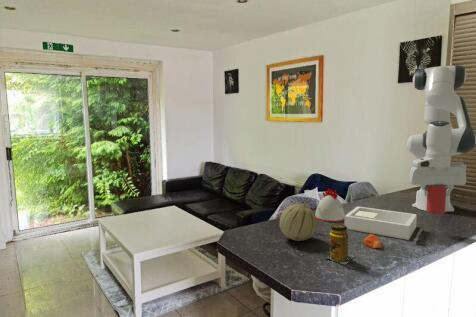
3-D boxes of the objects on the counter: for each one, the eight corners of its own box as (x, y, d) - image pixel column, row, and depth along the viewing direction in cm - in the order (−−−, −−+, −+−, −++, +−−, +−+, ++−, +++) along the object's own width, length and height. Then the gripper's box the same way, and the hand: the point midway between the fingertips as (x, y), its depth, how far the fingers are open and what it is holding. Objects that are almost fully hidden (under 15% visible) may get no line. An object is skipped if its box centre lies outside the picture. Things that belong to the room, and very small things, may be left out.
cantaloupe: (273, 236, 137) (272, 201, 135) (302, 231, 142) (302, 197, 141) (292, 249, 123) (292, 210, 121) (324, 242, 129) (324, 205, 127)
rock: (376, 256, 116) (376, 245, 116) (349, 245, 127) (349, 235, 126) (397, 249, 122) (397, 238, 122) (369, 239, 133) (369, 229, 132)
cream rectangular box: (359, 221, 150) (359, 210, 150) (377, 224, 146) (378, 213, 145) (353, 226, 144) (354, 215, 143) (372, 229, 139) (373, 218, 139)
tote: (357, 219, 156) (357, 206, 155) (416, 229, 141) (416, 214, 140) (344, 230, 142) (344, 216, 141) (408, 242, 127) (409, 226, 126)
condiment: (325, 259, 114) (325, 226, 112) (335, 251, 120) (335, 220, 119) (345, 265, 109) (345, 230, 108) (355, 256, 115) (355, 223, 114)
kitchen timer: (334, 226, 148) (334, 193, 146) (309, 219, 158) (309, 189, 156) (350, 219, 157) (351, 188, 155) (326, 213, 167) (326, 184, 166)
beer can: (447, 215, 130) (449, 185, 129) (429, 214, 132) (430, 185, 130) (441, 210, 137) (442, 182, 135) (424, 210, 138) (425, 182, 137)
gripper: (462, 160, 133) (460, 194, 135) (408, 160, 137) (407, 193, 138) (470, 162, 127) (468, 197, 128) (413, 163, 131) (412, 196, 132)
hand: (436, 195), depth 133 cm, fingers closed on beer can, 7 cm apart
